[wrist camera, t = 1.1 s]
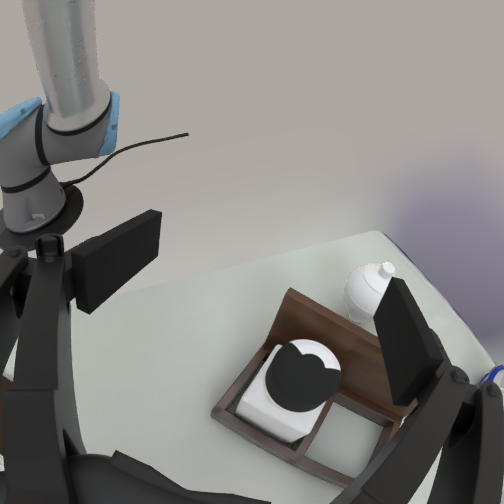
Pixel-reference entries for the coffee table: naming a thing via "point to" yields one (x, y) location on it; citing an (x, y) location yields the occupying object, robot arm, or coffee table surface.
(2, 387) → the mat
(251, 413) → the medicine bottle
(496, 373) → the toy car
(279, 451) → the rack
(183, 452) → the coffee table surface
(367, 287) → the spinning top
